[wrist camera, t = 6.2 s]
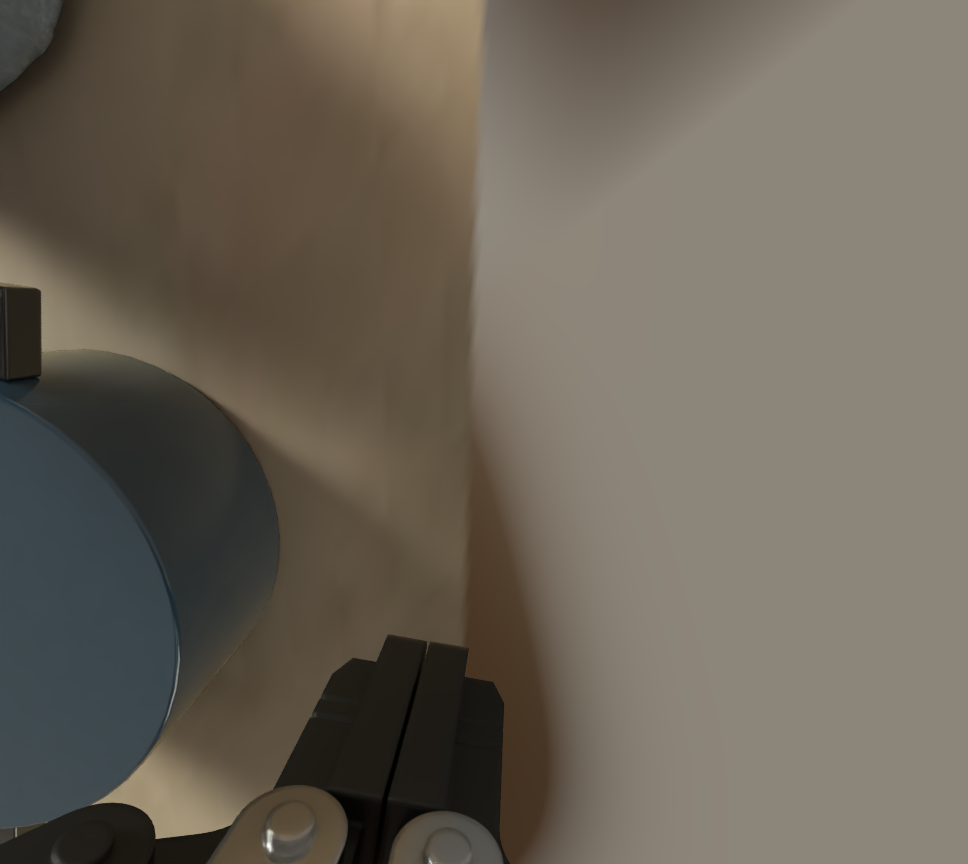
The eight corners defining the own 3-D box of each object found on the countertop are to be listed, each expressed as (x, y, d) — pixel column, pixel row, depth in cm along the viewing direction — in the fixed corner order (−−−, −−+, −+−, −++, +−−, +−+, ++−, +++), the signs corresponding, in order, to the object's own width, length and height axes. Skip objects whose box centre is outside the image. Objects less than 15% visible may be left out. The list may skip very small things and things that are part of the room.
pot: (-55, 702, 16) (-269, 849, 12) (-76, 257, 14) (-359, 231, 9) (262, 759, 16) (166, 930, 12) (300, 317, 13) (195, 320, 9)
